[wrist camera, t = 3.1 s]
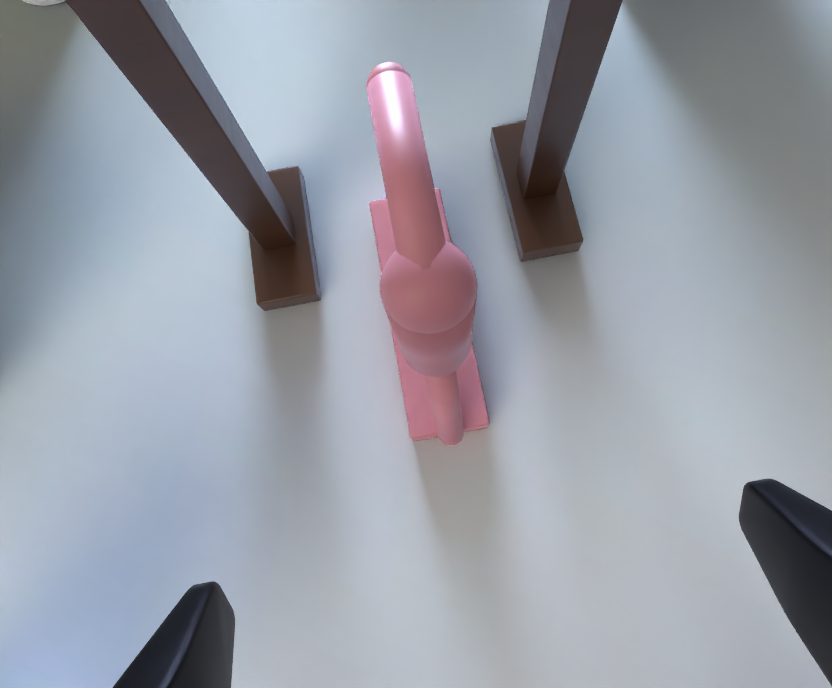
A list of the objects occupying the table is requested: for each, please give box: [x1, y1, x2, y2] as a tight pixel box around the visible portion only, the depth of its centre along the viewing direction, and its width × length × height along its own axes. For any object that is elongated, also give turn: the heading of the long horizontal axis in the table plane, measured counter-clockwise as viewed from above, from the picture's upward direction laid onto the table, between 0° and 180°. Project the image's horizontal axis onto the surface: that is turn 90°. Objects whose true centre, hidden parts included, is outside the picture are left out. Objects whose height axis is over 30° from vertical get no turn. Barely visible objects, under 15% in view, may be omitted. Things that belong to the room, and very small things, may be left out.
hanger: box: [367, 62, 490, 446], centre depth 18 cm, size 11×3×12 cm, turn 10°
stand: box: [65, 0, 622, 311], centre depth 18 cm, size 6×14×15 cm, turn 100°
